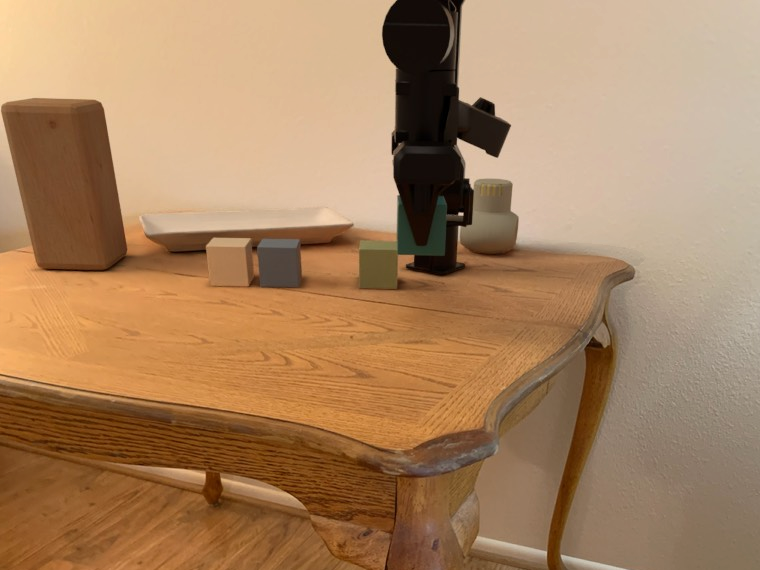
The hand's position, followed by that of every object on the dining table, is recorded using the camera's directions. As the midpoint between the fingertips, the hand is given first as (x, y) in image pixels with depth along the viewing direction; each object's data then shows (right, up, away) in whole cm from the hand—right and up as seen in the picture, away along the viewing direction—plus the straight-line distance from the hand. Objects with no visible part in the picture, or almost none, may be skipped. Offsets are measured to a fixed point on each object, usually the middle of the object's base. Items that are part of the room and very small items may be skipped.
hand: (420, 239), depth 82 cm
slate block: (-18, +2, +20) cm, 27 cm away
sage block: (-5, +2, +21) cm, 21 cm away
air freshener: (+11, +13, +39) cm, 43 cm away
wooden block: (-47, +7, +27) cm, 55 cm away
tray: (-27, +16, +41) cm, 51 cm away
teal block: (0, -1, +1) cm, 1 cm away
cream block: (-25, +2, +20) cm, 32 cm away
